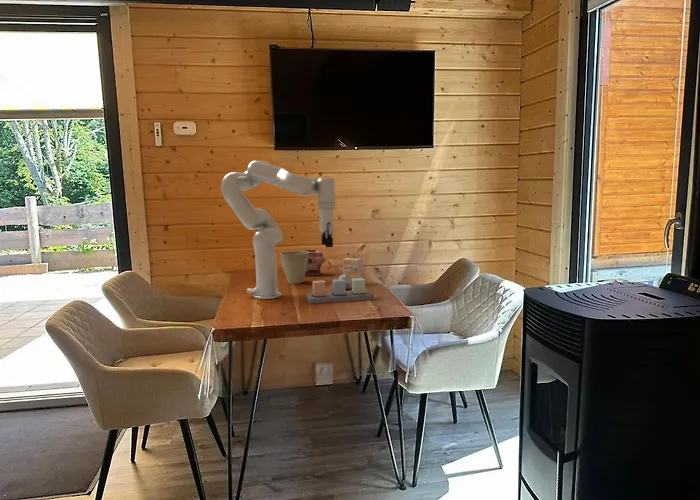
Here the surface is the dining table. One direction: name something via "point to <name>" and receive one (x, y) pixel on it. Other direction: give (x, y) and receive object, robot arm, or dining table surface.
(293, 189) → the robot arm
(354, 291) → the sage block
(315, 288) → the terracotta block
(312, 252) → the decorative planter
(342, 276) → the game die
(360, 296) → the board
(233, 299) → the dining table surface
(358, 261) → the supplement box
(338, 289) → the slate block
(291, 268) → the plant pot
